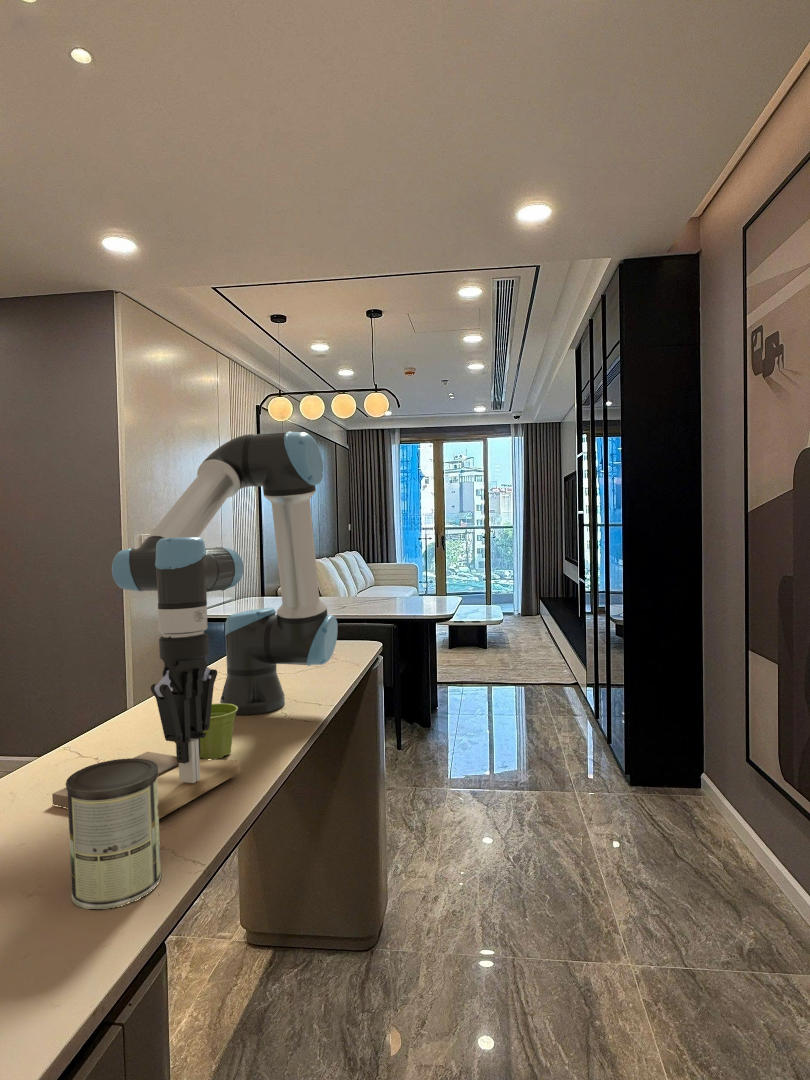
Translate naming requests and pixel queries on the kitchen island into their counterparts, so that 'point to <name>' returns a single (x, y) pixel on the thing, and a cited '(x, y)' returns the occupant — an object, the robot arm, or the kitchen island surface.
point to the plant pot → (218, 732)
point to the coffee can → (113, 832)
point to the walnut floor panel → (162, 760)
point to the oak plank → (181, 793)
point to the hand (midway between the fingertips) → (189, 780)
